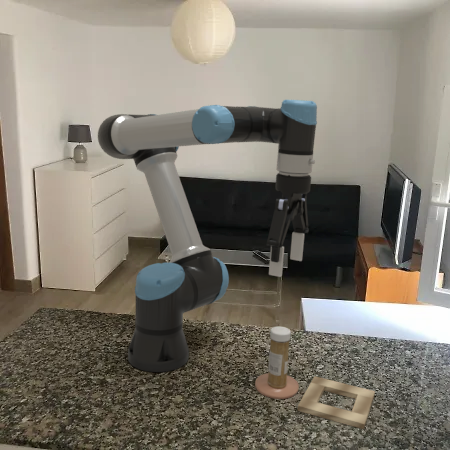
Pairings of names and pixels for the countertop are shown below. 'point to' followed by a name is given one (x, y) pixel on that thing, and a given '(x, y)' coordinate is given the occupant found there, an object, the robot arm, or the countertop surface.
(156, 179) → the robot arm
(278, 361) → the sprinkles bottle
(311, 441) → the countertop surface
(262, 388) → the coaster
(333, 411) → the collar board
